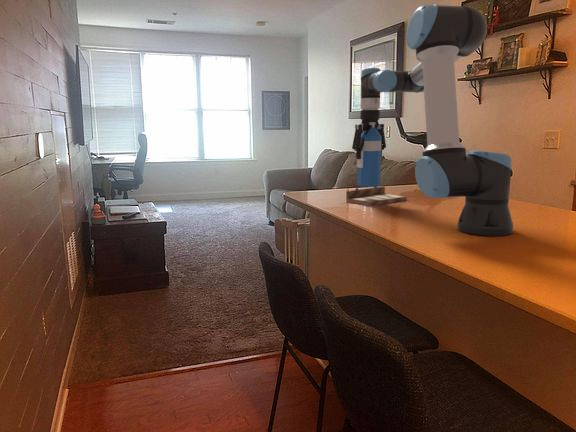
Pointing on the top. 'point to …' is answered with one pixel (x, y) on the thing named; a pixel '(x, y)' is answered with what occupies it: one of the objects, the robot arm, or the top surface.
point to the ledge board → (372, 196)
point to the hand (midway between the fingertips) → (369, 166)
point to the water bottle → (370, 159)
